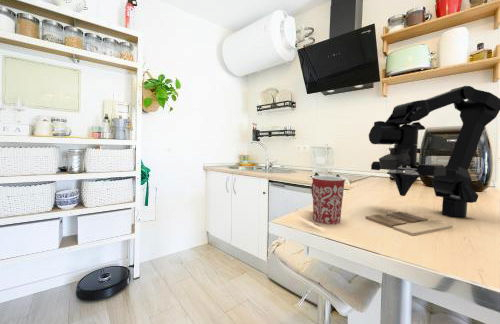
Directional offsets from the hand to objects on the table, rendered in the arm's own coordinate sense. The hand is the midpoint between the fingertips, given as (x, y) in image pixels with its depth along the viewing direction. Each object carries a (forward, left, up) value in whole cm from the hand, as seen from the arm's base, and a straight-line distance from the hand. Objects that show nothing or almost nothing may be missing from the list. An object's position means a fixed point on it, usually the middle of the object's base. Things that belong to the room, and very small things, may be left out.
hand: (402, 195), depth 66 cm
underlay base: (+5, +4, -8) cm, 10 cm away
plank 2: (+1, +2, -6) cm, 7 cm away
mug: (+24, -7, -8) cm, 26 cm away
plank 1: (+10, +2, -6) cm, 12 cm away
